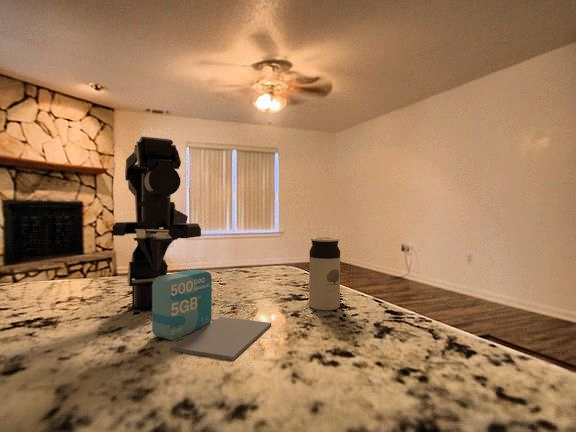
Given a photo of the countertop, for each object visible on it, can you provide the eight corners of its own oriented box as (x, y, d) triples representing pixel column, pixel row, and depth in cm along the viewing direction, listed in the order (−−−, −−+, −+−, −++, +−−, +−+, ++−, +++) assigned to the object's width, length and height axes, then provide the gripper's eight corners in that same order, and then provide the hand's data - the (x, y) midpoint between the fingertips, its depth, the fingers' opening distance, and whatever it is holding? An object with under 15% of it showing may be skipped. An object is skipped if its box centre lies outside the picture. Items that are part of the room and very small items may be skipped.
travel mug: (304, 303, 91) (305, 237, 91) (331, 301, 94) (332, 236, 93) (316, 312, 84) (316, 239, 83) (345, 309, 86) (345, 239, 86)
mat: (170, 350, 61) (170, 346, 61) (220, 319, 78) (220, 316, 78) (233, 360, 57) (233, 356, 57) (271, 325, 74) (271, 322, 74)
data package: (167, 343, 64) (167, 280, 64) (151, 338, 67) (151, 277, 66) (212, 324, 74) (212, 270, 74) (197, 321, 77) (197, 268, 77)
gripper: (214, 198, 77) (214, 266, 77) (146, 198, 83) (147, 261, 83) (185, 196, 66) (185, 275, 67) (110, 196, 72) (110, 269, 72)
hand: (156, 269), depth 72 cm, fingers closed
